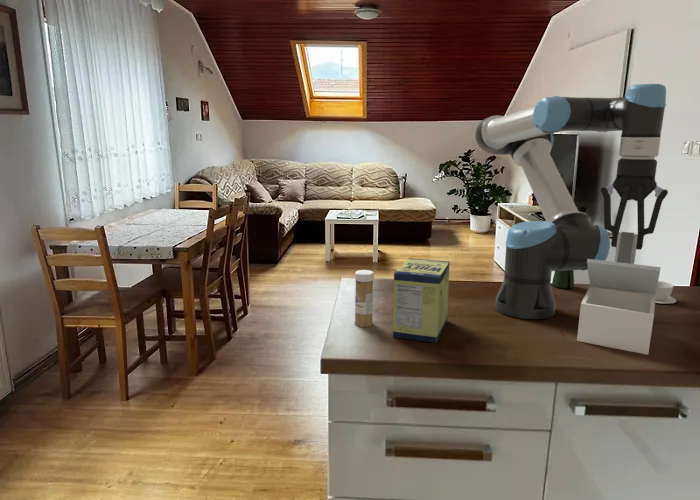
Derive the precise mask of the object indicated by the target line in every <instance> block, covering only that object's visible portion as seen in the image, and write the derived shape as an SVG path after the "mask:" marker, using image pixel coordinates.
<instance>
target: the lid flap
mask: <svg viewBox="0 0 700 500" xmlns="http://www.w3.org/2000/svg"><path fill="white" fill-rule="evenodd" d="M621 233H622V234H621V240H620V247H619V253H618V259H617V262H615V261H611V260H610V261H609V260H605V261H603V260H594V259H587V266H588V269H587V273H588V279H589V287H590V286H594V287H601V288H608V289H615V290H622V291H629V292H637V293H646V294H654V295H656V290H657V284H658V281H659V278H660V273H661V267H660V266H651V265H644V264H636V263H634V264H630V261H631V253H632V245H633V238H634V234H635V233H634V232H629V231H621Z"/></svg>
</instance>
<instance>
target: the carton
mask: <svg viewBox="0 0 700 500" xmlns="http://www.w3.org/2000/svg"><path fill="white" fill-rule="evenodd" d="M655 305H656V303H655V295H651V294H644V293H639V292H632V291H625V290H618V289H611V288H604V287H597V286H590V285H589V287H588V289H587V291H586V293H585V295H584V296H583V299H582V300H581V302H580V309H579V318H578V319H579V320H578V327H577V328H578V329H577V335H576V336H577V337H576V341H577V342H580V343H581V342H582V343H585V344H589V345H590V344H591V345H596V346H601V347H606V348H611V349H617V350H622V351H627V352H632V353H636V354H641V355H649V352H650V344H651V340H652V339H651V338H652V332H653V324H654V317H655V308H656V306H655Z"/></svg>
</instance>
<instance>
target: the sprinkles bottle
mask: <svg viewBox="0 0 700 500" xmlns="http://www.w3.org/2000/svg"><path fill="white" fill-rule="evenodd" d="M374 279H375V273H374V271H372V270H369V269H360V270H356V271H355V273H354V280H355V298H354V312H355V313H354V326H356V327H359V328H368V327H371V326H373V324H374V323H373V313H374Z"/></svg>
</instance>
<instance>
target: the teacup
mask: <svg viewBox="0 0 700 500" xmlns="http://www.w3.org/2000/svg"><path fill="white" fill-rule="evenodd" d="M673 290H674V284H672V283H670V282H666V281H662V280H658V284H657V290H656V295H655V304H663V305H665V304H675V303H676V302H677V299H676V298H674V297H672V296H671V294H672V292H673ZM644 294H646V293H644ZM651 295H654V294H651Z"/></svg>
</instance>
